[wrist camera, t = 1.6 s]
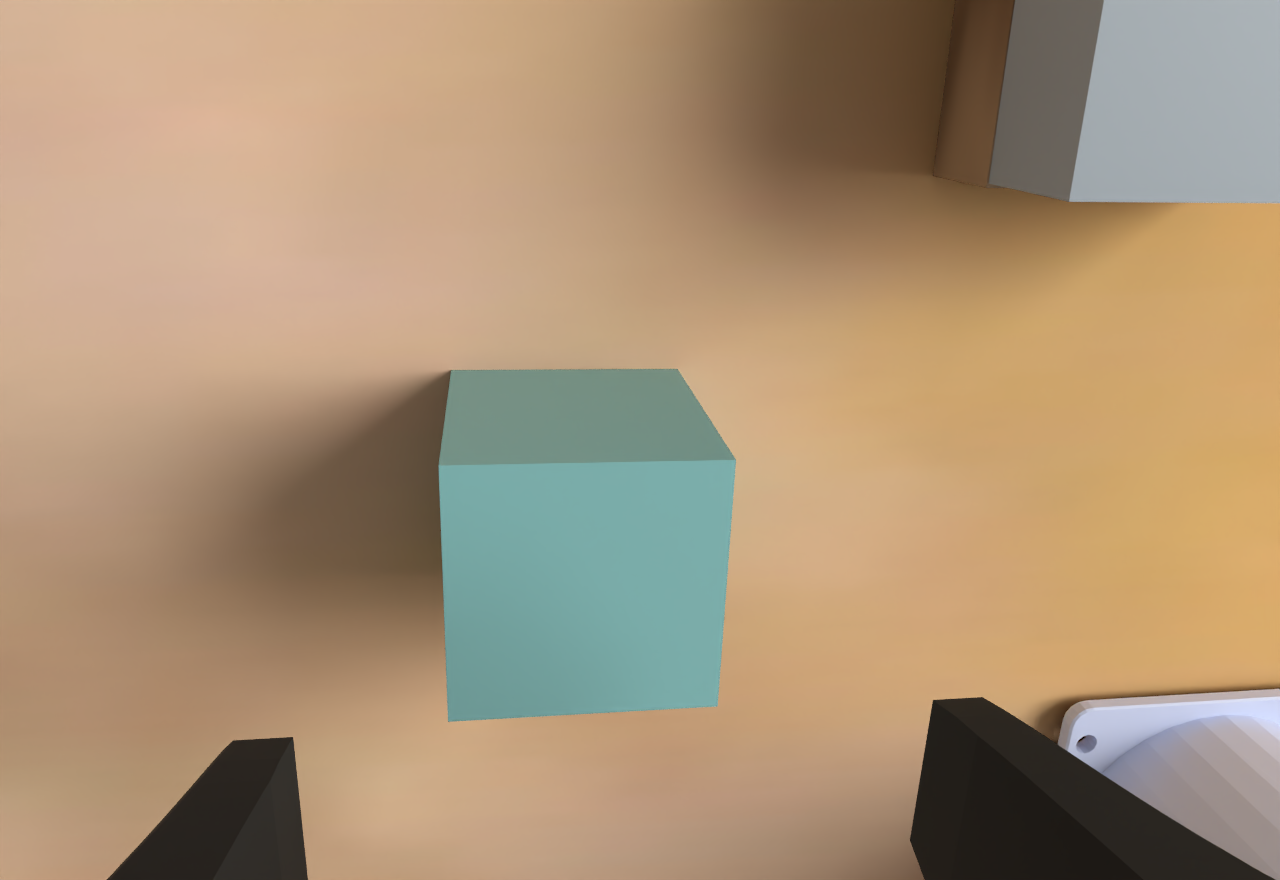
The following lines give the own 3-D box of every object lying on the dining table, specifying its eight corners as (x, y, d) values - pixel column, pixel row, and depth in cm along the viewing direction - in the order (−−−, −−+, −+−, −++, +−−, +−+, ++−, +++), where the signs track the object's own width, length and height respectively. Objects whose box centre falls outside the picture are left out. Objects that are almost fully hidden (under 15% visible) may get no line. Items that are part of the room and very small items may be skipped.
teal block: (667, 566, 21) (716, 705, 16) (458, 573, 20) (447, 721, 16) (676, 368, 19) (736, 459, 15) (451, 369, 19) (438, 465, 14)
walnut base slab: (1204, 179, 20) (1298, 192, 18) (925, 174, 19) (986, 187, 17) (1280, -161, 18) (1398, -196, 15) (970, -184, 17) (1046, -225, 15)
